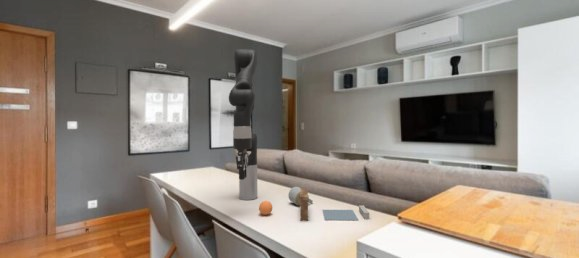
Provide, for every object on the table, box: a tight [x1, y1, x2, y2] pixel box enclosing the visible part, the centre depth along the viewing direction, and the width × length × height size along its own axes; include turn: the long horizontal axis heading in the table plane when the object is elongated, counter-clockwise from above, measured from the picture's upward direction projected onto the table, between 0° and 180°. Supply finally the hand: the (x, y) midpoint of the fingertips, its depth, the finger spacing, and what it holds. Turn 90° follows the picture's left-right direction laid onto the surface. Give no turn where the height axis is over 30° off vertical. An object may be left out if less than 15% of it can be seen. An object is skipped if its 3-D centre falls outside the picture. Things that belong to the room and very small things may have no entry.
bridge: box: [299, 187, 309, 222], centre depth 114 cm, size 3×15×9 cm, turn 177°
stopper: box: [358, 205, 370, 220], centre depth 113 cm, size 2×10×2 cm, turn 177°
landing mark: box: [322, 209, 359, 221], centre depth 114 cm, size 13×13×1 cm
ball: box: [258, 200, 273, 216], centre depth 115 cm, size 6×6×6 cm
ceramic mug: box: [288, 186, 313, 207], centre depth 130 cm, size 11×8×8 cm
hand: (242, 178), depth 115 cm, fingers open, 3 cm apart
